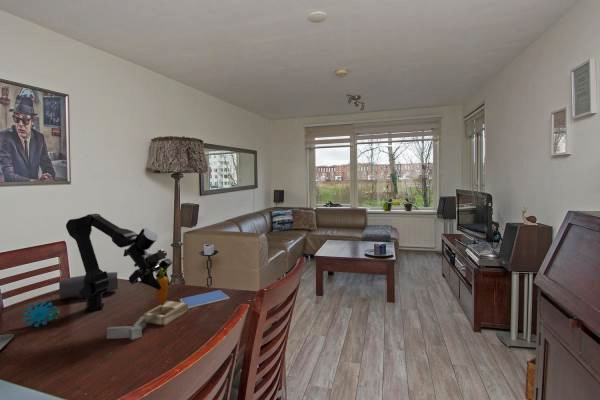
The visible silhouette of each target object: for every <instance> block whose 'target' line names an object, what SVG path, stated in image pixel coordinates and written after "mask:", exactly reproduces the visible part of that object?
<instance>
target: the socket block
mask: <svg viewBox="0 0 600 400" xmlns="http://www.w3.org/2000/svg"><path fill="white" fill-rule="evenodd" d="M188 311H189V309H188V303H181V301H173V300H172V301H171V300H166V301H165V303H164V305H163V306H162V305H161V304H159V305H157V306H156V307H154V308H152V309H150V310H149V311H146V312H145V313H143V314H142V316H146V324H155V325H162V326H166V325H168V324H169V323H171V322H172V321H174V320H175V319H177V318H179V317H181V315H183V314H185V313H186V312H188Z"/></svg>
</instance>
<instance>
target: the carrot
mask: <svg viewBox="0 0 600 400" xmlns="http://www.w3.org/2000/svg"><path fill="white" fill-rule="evenodd" d="M166 271H167V272H168V271H169V270H168V269H167V270H165V271H164V272H163V269H162V268H160V270H158V273H159V275H160V277H158V278H157V277H156V278H155V279H156V280H157V282H158V283H159V285H160V286H161V289H160V290H158V289H156V288H155V293H156V296H157V300H158V302H159V305H162V306H163V305H164V303H165V302H167V298H168V293H169V286H168V279H169V277H168V278H167V277H165V276H164V274H165V272H166ZM162 272H163V273H162Z"/></svg>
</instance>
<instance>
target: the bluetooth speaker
mask: <svg viewBox="0 0 600 400" xmlns="http://www.w3.org/2000/svg"><path fill="white" fill-rule="evenodd" d="M85 275H86V274H85ZM85 275H78V276H70V277H65V278H61V279H59V281H58V284H59V285H58V287H59V288H58V295H59V298H60V299H63V298H64V299H65V298H67V299H69V298H74V297H75V298H76V299H82V298H83V299H84V297H80V294H79V292H80V291H81V290H82V288H83V287H84V278H85ZM107 276H108V278H109V280H108V281H109V285H108V287H107V291H106V292H103V293H102V295H103V294H104V293H107V292H112V291H116V290H118V289H119V284H118V283H119V282H118V271H117V272H116V271H115V272H114V271H113V272H107Z"/></svg>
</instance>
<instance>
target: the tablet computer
mask: <svg viewBox="0 0 600 400" xmlns="http://www.w3.org/2000/svg"><path fill="white" fill-rule="evenodd" d="M229 299H230V297H229V296H228V295H227V294H225V293H224V292H223V291H222V290H220V289H218V290H213V291H209V292H206V293H204V292H203V293H200V294H196V295H191V296H187V297H183V298H179V302H180V303H188V310H189V309H193V308H197V307H202V306H205V305H210V304H212V303H218V302H221V301H227V300H229Z"/></svg>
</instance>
